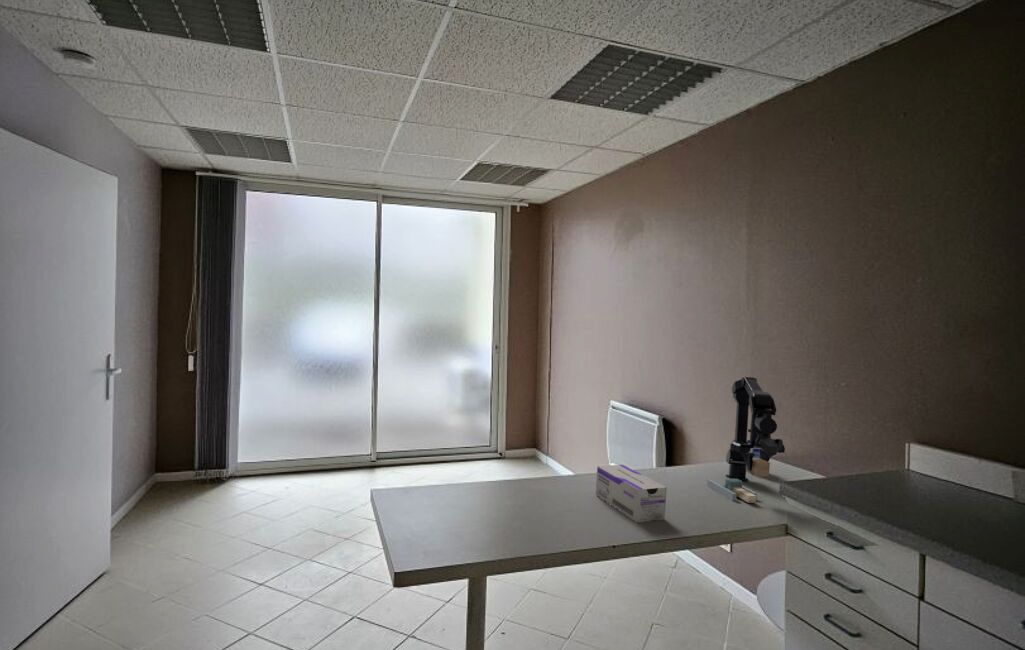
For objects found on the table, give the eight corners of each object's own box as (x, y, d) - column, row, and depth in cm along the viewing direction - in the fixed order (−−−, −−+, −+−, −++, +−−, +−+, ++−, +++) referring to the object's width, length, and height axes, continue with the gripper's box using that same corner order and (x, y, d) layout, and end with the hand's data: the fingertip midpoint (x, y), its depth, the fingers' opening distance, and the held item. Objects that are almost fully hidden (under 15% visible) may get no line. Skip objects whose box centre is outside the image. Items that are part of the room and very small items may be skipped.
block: (745, 471, 196) (746, 457, 196) (757, 471, 197) (758, 457, 197) (756, 476, 190) (757, 462, 190) (768, 476, 191) (769, 462, 191)
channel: (707, 485, 208) (707, 479, 208) (729, 485, 211) (730, 479, 210) (732, 500, 193) (732, 493, 193) (756, 500, 195) (757, 493, 195)
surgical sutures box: (664, 520, 171) (666, 487, 171) (636, 523, 167) (638, 489, 167) (621, 493, 195) (622, 464, 194) (595, 495, 191) (597, 466, 190)
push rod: (724, 490, 201) (725, 478, 201) (736, 490, 203) (737, 478, 202) (746, 502, 189) (746, 490, 189) (758, 502, 190) (759, 490, 190)
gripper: (751, 433, 184) (748, 478, 185) (797, 433, 188) (794, 477, 189) (731, 426, 195) (728, 468, 195) (775, 426, 199) (772, 467, 200)
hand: (756, 470), depth 194 cm, fingers closed on block, 5 cm apart
